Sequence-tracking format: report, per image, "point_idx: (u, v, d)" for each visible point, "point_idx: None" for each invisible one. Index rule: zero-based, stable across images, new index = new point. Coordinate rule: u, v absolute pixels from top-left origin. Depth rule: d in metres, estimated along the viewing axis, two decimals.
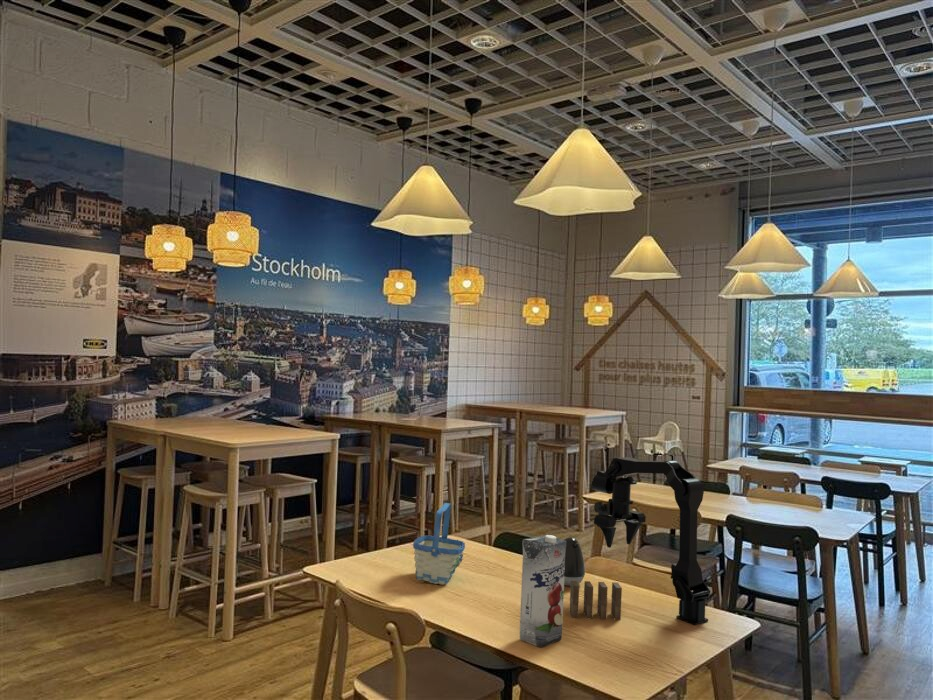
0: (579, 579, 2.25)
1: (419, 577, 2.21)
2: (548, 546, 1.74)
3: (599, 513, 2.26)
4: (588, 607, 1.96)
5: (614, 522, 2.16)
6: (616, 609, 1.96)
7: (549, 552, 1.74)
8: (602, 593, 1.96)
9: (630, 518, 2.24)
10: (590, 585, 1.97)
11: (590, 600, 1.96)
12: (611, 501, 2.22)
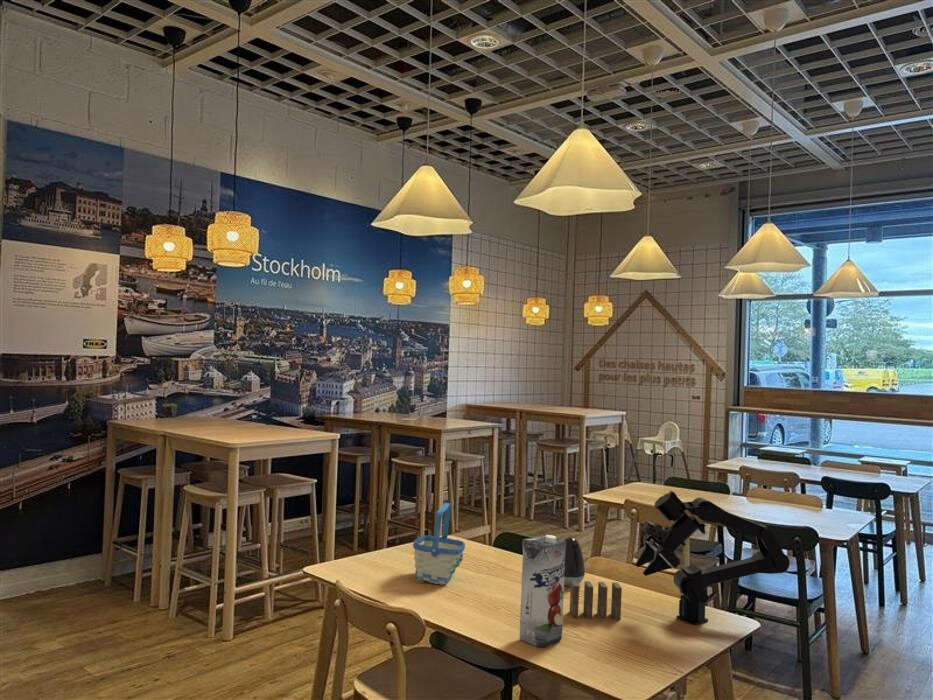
0: (579, 579, 2.25)
1: (419, 577, 2.21)
2: (547, 546, 1.74)
3: (649, 533, 1.97)
4: (588, 607, 1.96)
5: None
6: (616, 609, 1.96)
7: (549, 552, 1.74)
8: (602, 593, 1.96)
9: None
10: (590, 585, 1.97)
11: (590, 600, 1.96)
12: (673, 533, 1.97)
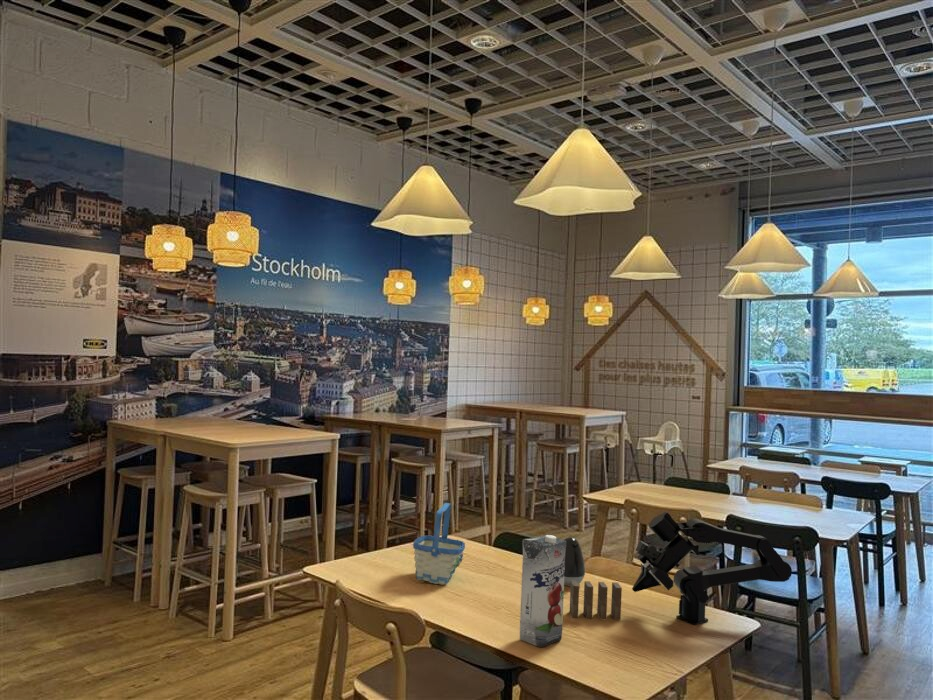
0: (579, 579, 2.25)
1: (419, 577, 2.21)
2: (547, 546, 1.74)
3: (642, 553, 1.97)
4: (588, 607, 1.96)
5: None
6: (616, 609, 1.96)
7: (549, 552, 1.74)
8: (602, 593, 1.96)
9: None
10: (590, 585, 1.97)
11: (590, 600, 1.96)
12: (667, 555, 1.97)
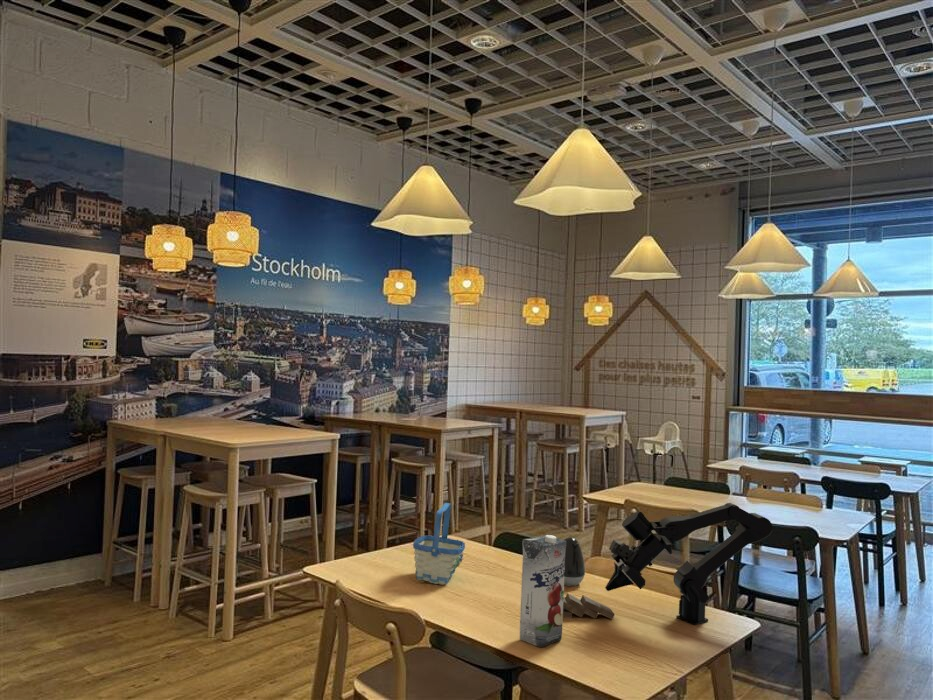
0: (579, 579, 2.25)
1: (419, 577, 2.21)
2: (548, 546, 1.74)
3: (615, 552, 1.97)
4: (572, 611, 1.96)
5: None
6: (604, 614, 1.96)
7: (549, 552, 1.74)
8: (573, 605, 1.96)
9: None
10: None
11: (567, 606, 1.96)
12: (639, 553, 1.97)
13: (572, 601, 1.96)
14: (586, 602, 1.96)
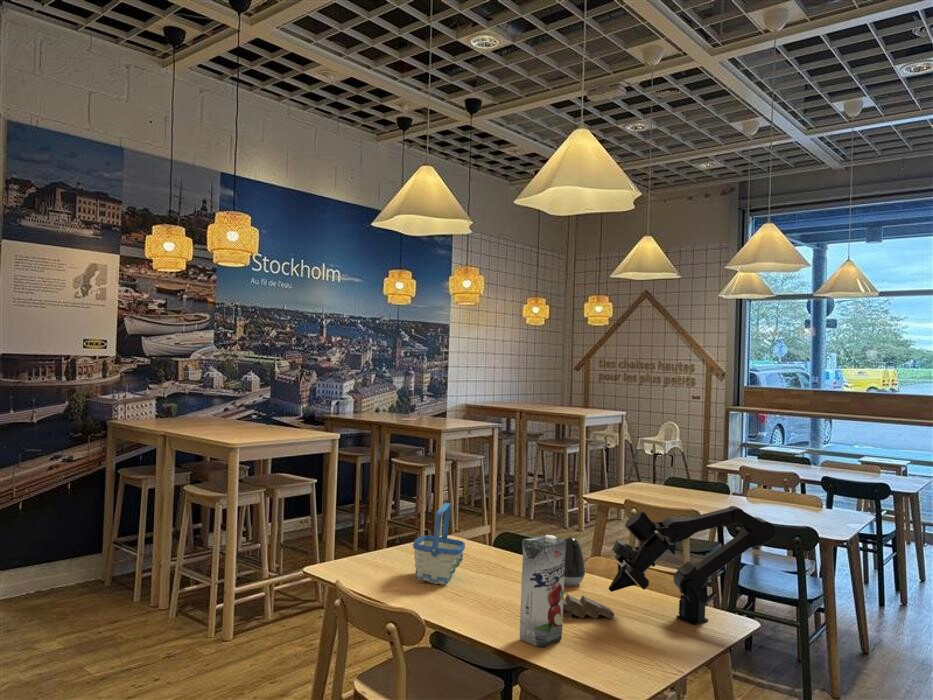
0: (579, 579, 2.25)
1: (419, 577, 2.21)
2: (547, 546, 1.74)
3: (619, 553, 1.97)
4: (574, 612, 1.96)
5: None
6: (604, 614, 1.96)
7: (549, 552, 1.74)
8: (574, 607, 1.96)
9: None
10: None
11: (568, 608, 1.95)
12: (643, 554, 1.97)
13: (573, 602, 1.96)
14: (586, 602, 1.96)
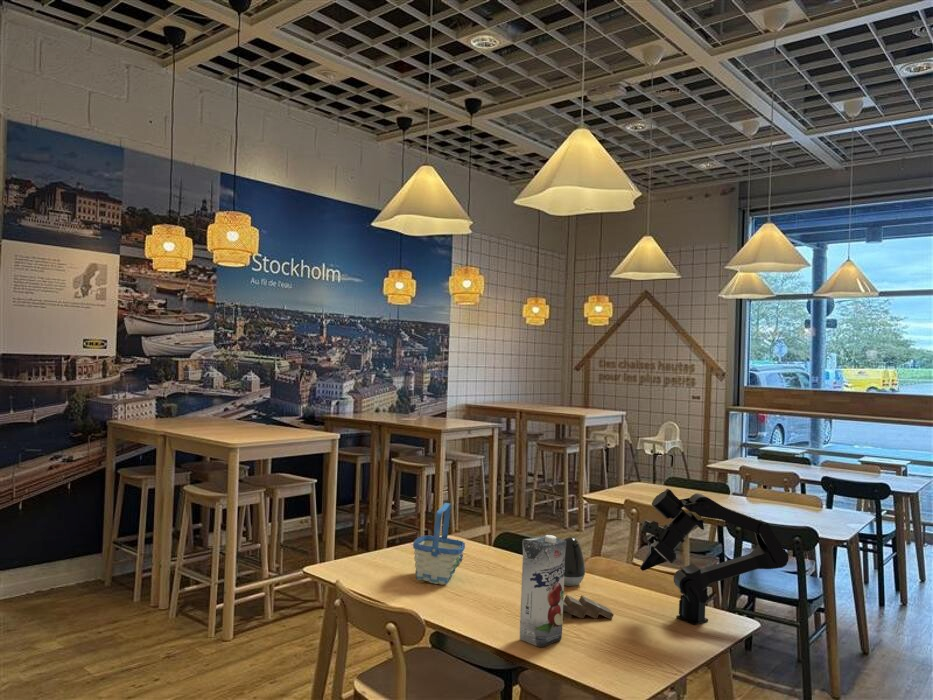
0: (579, 579, 2.25)
1: (419, 577, 2.21)
2: (548, 546, 1.74)
3: (646, 530, 1.99)
4: (574, 613, 1.95)
5: None
6: (603, 614, 1.96)
7: (549, 552, 1.74)
8: (574, 607, 1.95)
9: None
10: None
11: (568, 609, 1.95)
12: (670, 530, 1.98)
13: (573, 603, 1.95)
14: (586, 602, 1.96)
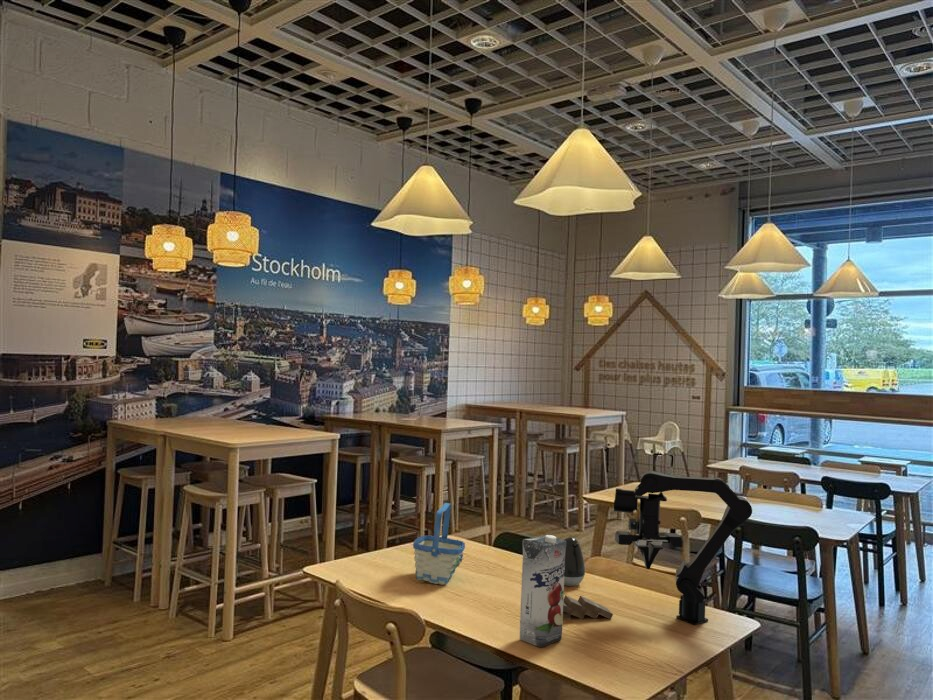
0: (579, 579, 2.25)
1: (419, 577, 2.21)
2: (547, 546, 1.74)
3: None
4: (573, 613, 1.95)
5: (630, 540, 2.00)
6: (602, 614, 1.96)
7: (549, 552, 1.74)
8: (574, 608, 1.95)
9: None
10: None
11: (568, 609, 1.95)
12: None
13: (573, 604, 1.95)
14: (585, 602, 1.96)
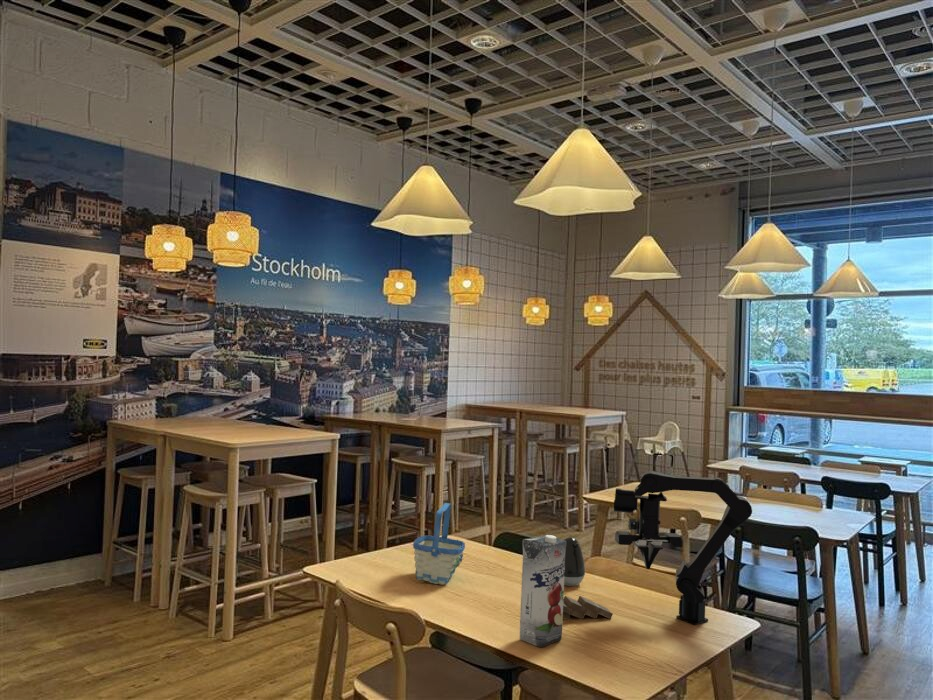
0: (579, 579, 2.25)
1: (419, 577, 2.21)
2: (548, 546, 1.74)
3: None
4: (574, 614, 1.95)
5: (630, 540, 2.00)
6: (602, 614, 1.96)
7: (549, 552, 1.74)
8: (575, 608, 1.95)
9: None
10: None
11: (569, 610, 1.94)
12: None
13: (574, 604, 1.94)
14: (585, 603, 1.95)
